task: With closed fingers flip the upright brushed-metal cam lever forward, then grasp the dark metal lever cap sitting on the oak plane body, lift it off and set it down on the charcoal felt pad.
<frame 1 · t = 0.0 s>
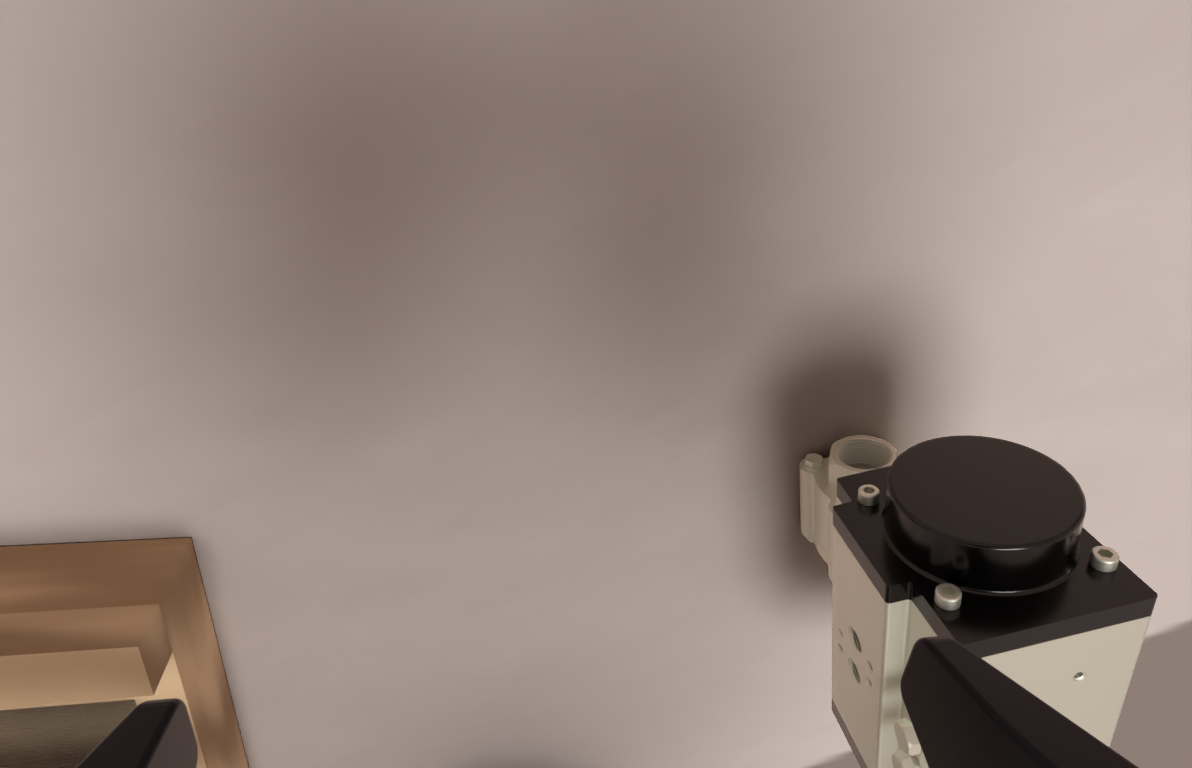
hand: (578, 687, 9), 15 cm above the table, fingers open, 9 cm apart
pneumatic valve: (826, 482, 28), on the table
lever cap: (90, 765, 25), point 3 cm above the table, touching plane body
plane body: (125, 690, 27), on the table
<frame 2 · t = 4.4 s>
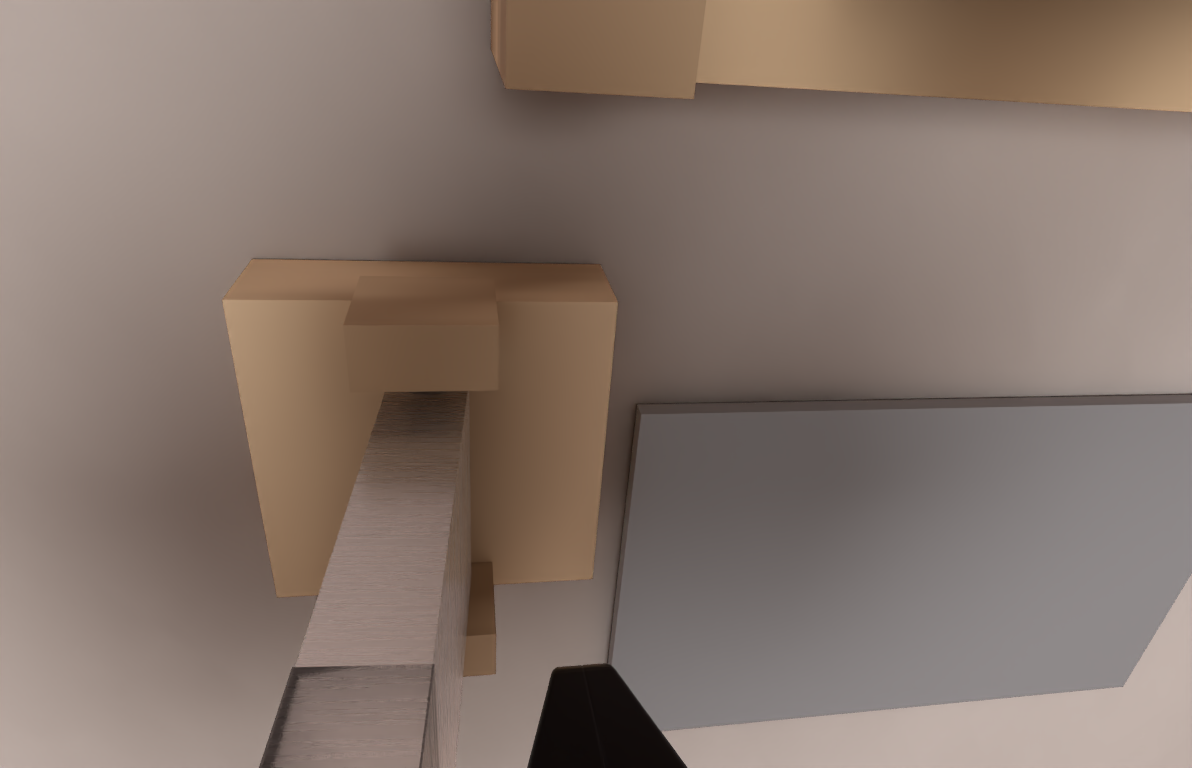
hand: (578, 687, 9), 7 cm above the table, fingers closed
felt pad: (922, 567, 19), on the table
lever mount: (438, 407, 14), on the table
lever: (407, 636, 9), point 6 cm above the table, hinge at 3.9°, touching gripper
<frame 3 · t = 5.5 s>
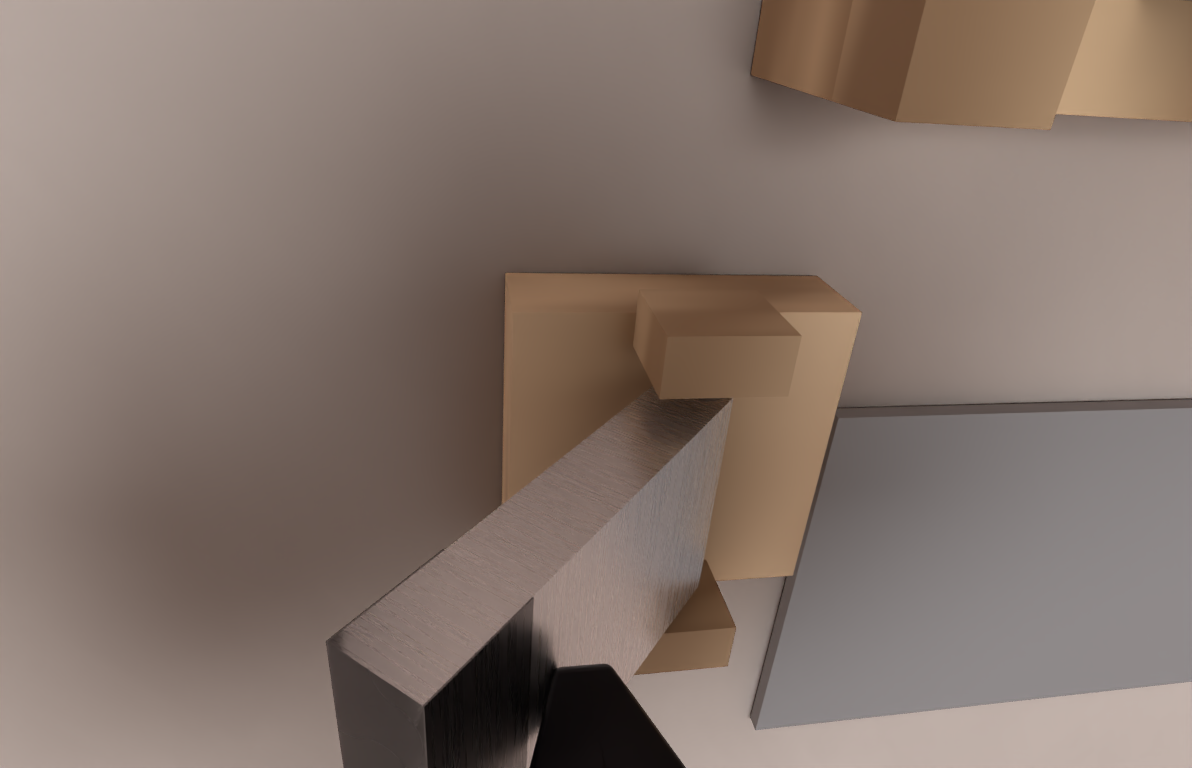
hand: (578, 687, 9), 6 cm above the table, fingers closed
felt pad: (1064, 562, 20), on the table
lever mount: (650, 413, 15), on the table
lever: (583, 594, 10), point 5 cm above the table, hinge at 41.9°, touching gripper
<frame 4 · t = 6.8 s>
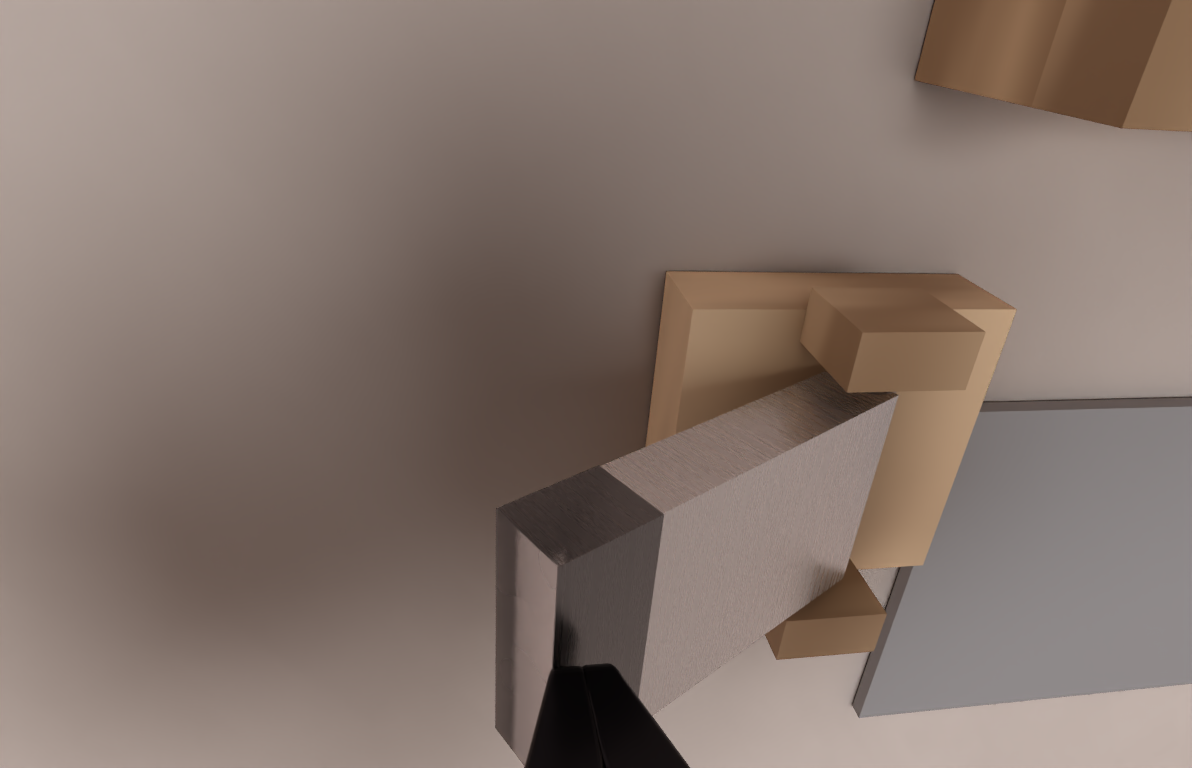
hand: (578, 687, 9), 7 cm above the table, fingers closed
felt pad: (1167, 555, 20), on the table
lever mount: (787, 407, 16), on the table
lever: (720, 545, 12), point 4 cm above the table, hinge at 59.6°, touching gripper
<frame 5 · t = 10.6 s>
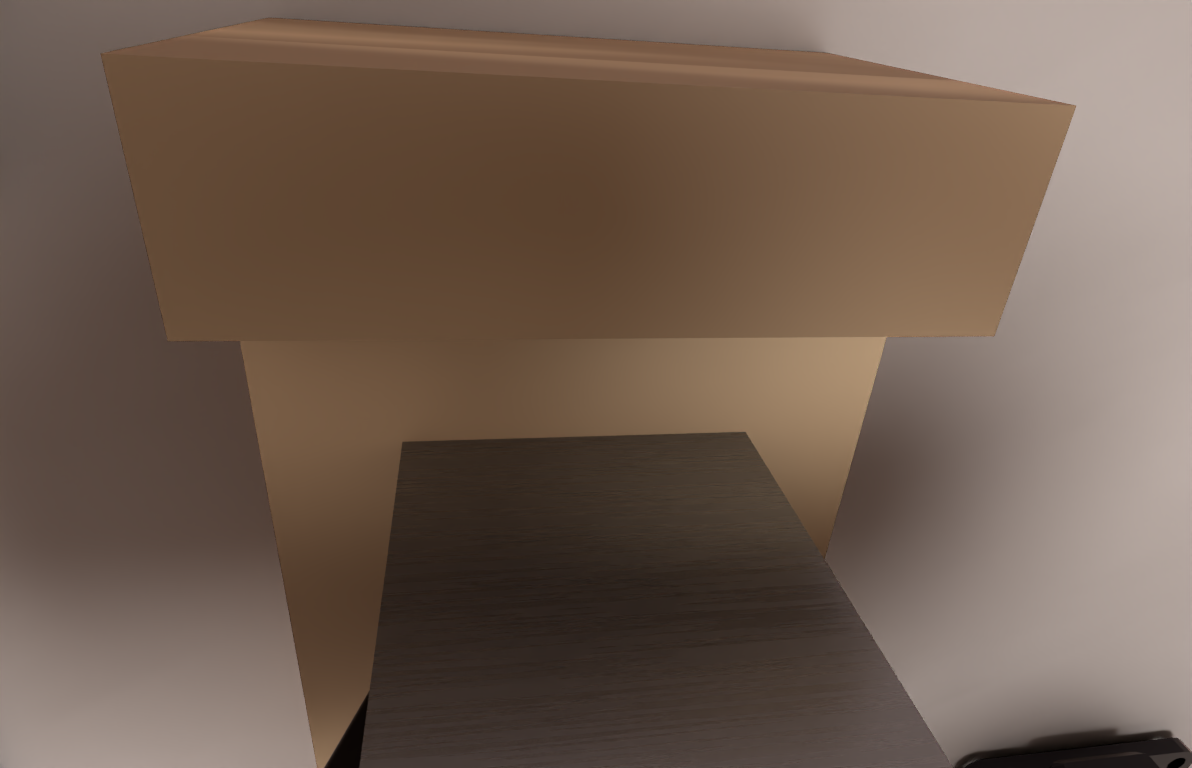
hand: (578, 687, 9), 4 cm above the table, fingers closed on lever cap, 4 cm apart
lever cap: (568, 624, 10), point 3 cm above the table, touching gripper, plane body
plane body: (546, 489, 13), on the table
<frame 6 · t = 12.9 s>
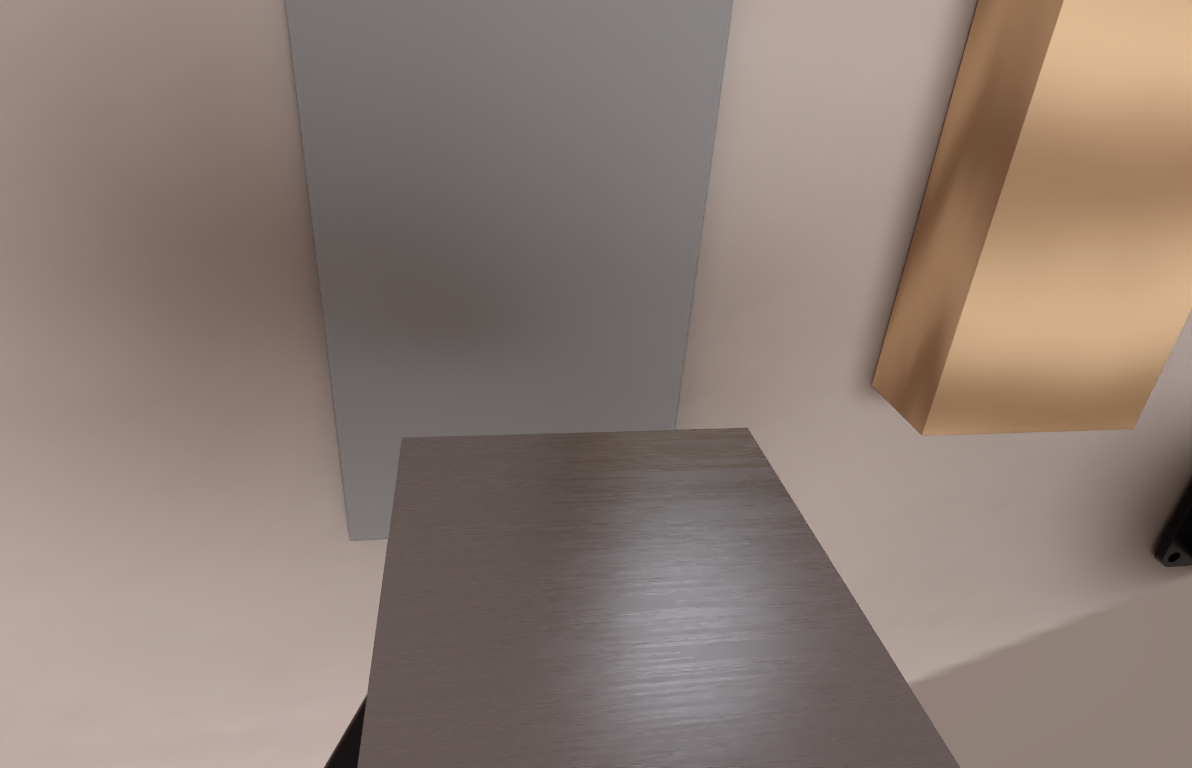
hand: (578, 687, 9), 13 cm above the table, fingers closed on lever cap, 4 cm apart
felt pad: (513, 296, 20), on the table
lever cap: (568, 621, 10), point 12 cm above the table, touching gripper
plane body: (1045, 167, 21), on the table
when the fingers open (3 cm above the table, at t = 15.0 s): lever cap drops 2 cm, resting on felt pad.
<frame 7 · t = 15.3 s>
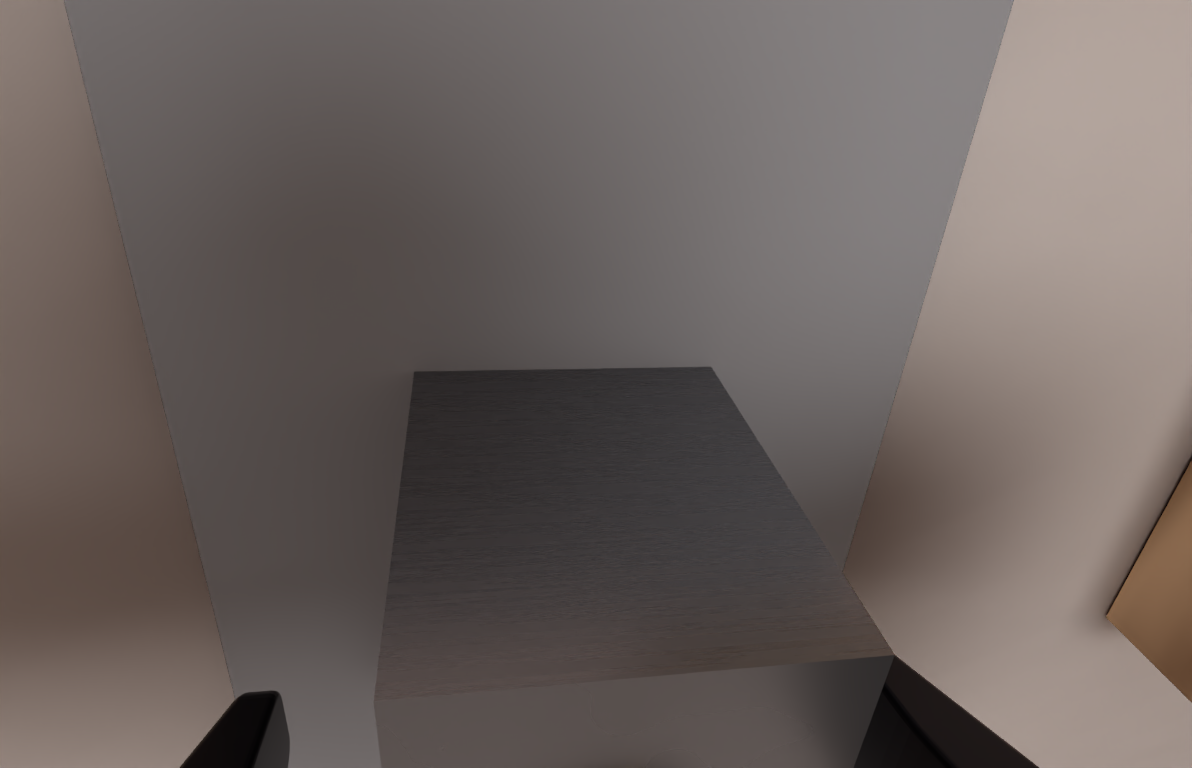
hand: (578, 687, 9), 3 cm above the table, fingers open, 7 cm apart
felt pad: (550, 530, 12), on the table
lever cap: (558, 542, 11), resting on felt pad
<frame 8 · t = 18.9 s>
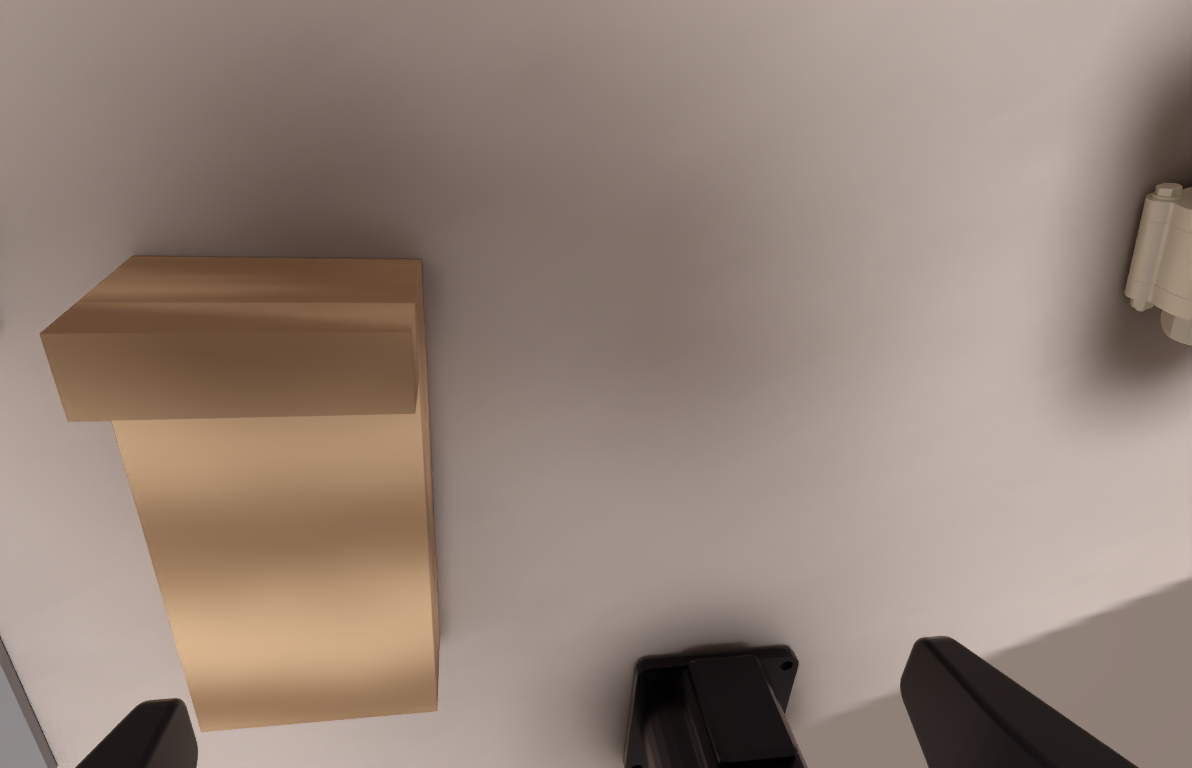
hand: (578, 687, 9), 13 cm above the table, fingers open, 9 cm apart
pneumatic valve: (1160, 234, 23), on the table
plane body: (313, 480, 22), on the table
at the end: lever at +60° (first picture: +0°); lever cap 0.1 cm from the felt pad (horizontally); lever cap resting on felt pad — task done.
